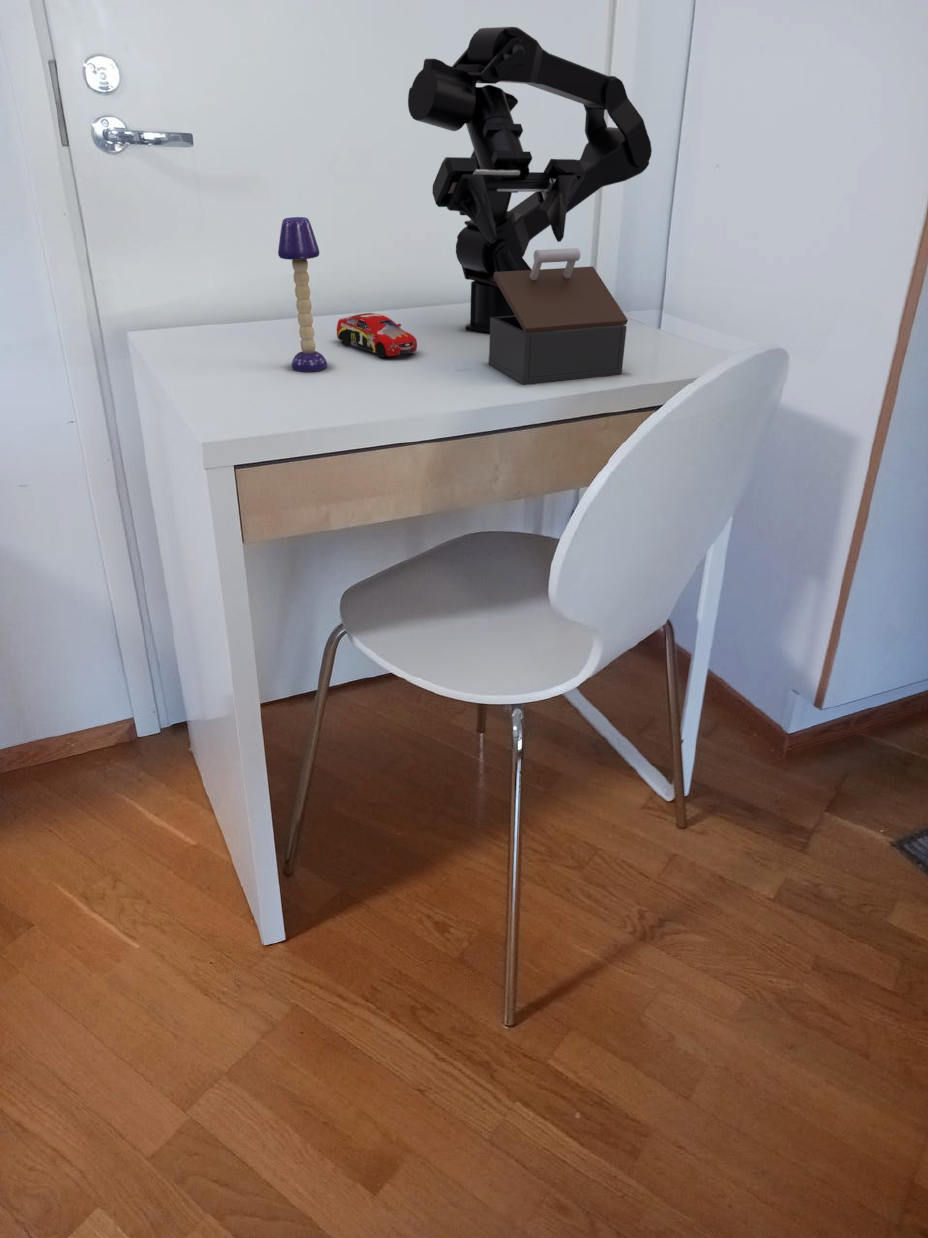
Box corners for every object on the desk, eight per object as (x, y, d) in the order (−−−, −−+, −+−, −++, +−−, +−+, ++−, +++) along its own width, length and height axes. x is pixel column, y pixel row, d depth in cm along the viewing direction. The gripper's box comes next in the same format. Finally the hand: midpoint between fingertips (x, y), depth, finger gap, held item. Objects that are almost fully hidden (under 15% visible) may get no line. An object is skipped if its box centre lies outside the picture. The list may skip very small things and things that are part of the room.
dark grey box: (488, 364, 117) (490, 317, 115) (582, 355, 122) (586, 309, 119) (522, 384, 110) (525, 334, 107) (621, 374, 115) (626, 325, 112)
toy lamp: (293, 373, 112) (283, 221, 104) (281, 364, 115) (270, 216, 107) (332, 369, 114) (324, 219, 106) (318, 360, 117) (310, 214, 109)
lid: (492, 276, 112) (501, 243, 108) (591, 270, 117) (602, 239, 113) (524, 333, 107) (535, 301, 104) (626, 324, 112) (639, 293, 109)
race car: (424, 356, 120) (425, 324, 118) (389, 363, 117) (389, 330, 115) (365, 335, 129) (364, 305, 127) (331, 341, 126) (330, 309, 124)
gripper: (533, 180, 130) (566, 278, 127) (406, 179, 123) (437, 283, 120) (568, 117, 120) (604, 222, 117) (431, 112, 113) (466, 224, 110)
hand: (527, 240), depth 116 cm, fingers open, 9 cm apart
